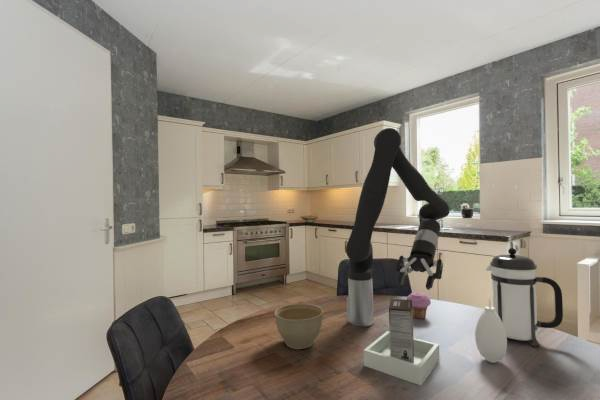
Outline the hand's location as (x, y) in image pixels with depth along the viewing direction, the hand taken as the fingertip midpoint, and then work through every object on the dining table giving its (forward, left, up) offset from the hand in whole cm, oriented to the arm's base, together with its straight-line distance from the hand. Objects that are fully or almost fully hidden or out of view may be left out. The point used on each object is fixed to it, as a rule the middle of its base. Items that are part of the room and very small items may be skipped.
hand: (413, 286), depth 99 cm
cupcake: (-8, +27, -20) cm, 34 cm away
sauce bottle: (+20, +5, -20) cm, 29 cm away
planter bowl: (-32, -19, -20) cm, 42 cm away
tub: (0, -11, -20) cm, 23 cm away
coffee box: (0, -11, -19) cm, 22 cm away
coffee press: (+25, +27, -20) cm, 42 cm away
